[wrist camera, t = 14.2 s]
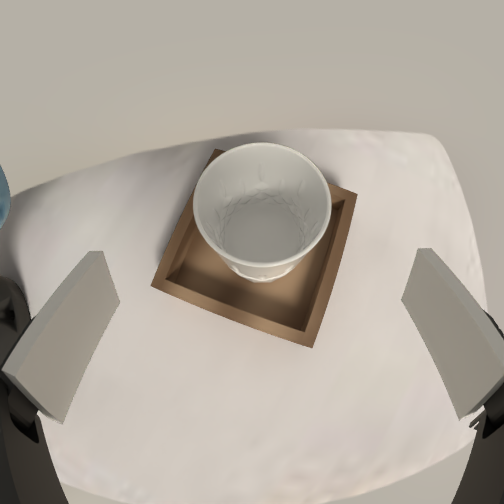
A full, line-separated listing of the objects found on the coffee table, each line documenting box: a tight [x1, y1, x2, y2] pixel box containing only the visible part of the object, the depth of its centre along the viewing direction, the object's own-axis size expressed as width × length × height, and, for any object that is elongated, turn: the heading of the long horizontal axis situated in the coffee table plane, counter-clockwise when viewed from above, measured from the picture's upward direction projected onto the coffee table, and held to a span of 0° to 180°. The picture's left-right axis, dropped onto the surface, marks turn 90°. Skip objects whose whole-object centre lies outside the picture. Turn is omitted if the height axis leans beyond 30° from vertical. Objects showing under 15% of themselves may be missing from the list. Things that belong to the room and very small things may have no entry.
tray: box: [151, 149, 357, 348], centre depth 24 cm, size 14×14×4 cm
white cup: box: [193, 142, 331, 283], centre depth 20 cm, size 8×8×10 cm
